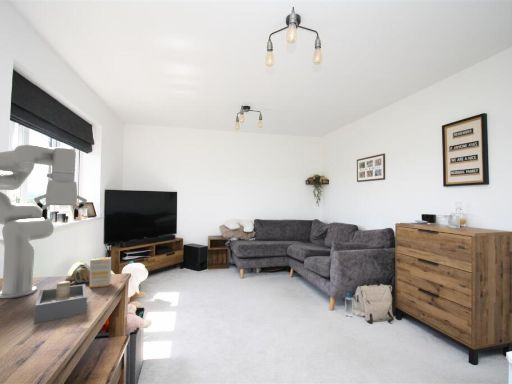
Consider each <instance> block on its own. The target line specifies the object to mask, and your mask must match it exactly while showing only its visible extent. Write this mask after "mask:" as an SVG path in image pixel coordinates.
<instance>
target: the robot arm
mask: <svg viewBox="0 0 512 384" xmlns="http://www.w3.org/2000/svg"><path fill="white" fill-rule="evenodd" d="M76 155H77V154H76V150H74V149H73V148H69V147H63V146H62V147H61V146H57V147H50V146H45V145H41V144H40V145H39V144H34V143H33V144H31V143H30V144H22V145H18V146H16V147H15V148H14V149H13V150H7V151H0V225H3V227H2V238H3V247H4V249H3V250H4V253H3V256H4V257H3V272H2V287H1V288H2V289H1V290H0V299H15V298H21V297H25V296H28V295H31V294H33V293H35V292H36V291H38V286H35V285H33V282H34V279H33V278H34V264H35V249H34V246H33V245H32V244H31V243H30V241H34V240H42V239H46V238H49V237H50V236H52V235H53V233H54V228H55V227H54V224H53V222H52V221H51V219H50V218H49V217H48V212H49V211H48V207H49V206H72V207H73V208H74V210H73V220H76V219H77V218H79V210H80V209H82V207H84V206H85V204H86V203H87V201H88V200H87V199H86V198H84V197H82V196H80V195H78V186H77V185H78V184H77V181H75V171H76ZM37 164H38V165H43V166H44V165H46V166H51V173H46V178H50V179H49V180H48V181H47V185H46V192H45V194H42V195H40V196H37V197H34V198H33V200H34V202H35V203H36V204H34V203H30V202H28V203H27V202H25V203H24V202H22V203H20V202H14V201H13V200H11V198H10V197H9V196H8V195H6V194H5V193H3V192H2V191H3V190H4V191H15V190H18V189H19V188H20V187H21V186H23V183H25V181H26V180H27V178H28V177H29V176H30V175H31V173H32V171H33V170H34V168H35V165H37ZM1 190H2V191H1ZM43 199H45V204H43V203H42V202H41V200H43ZM78 200H79V201H81V203H80V204H77V202H78Z"/></svg>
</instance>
